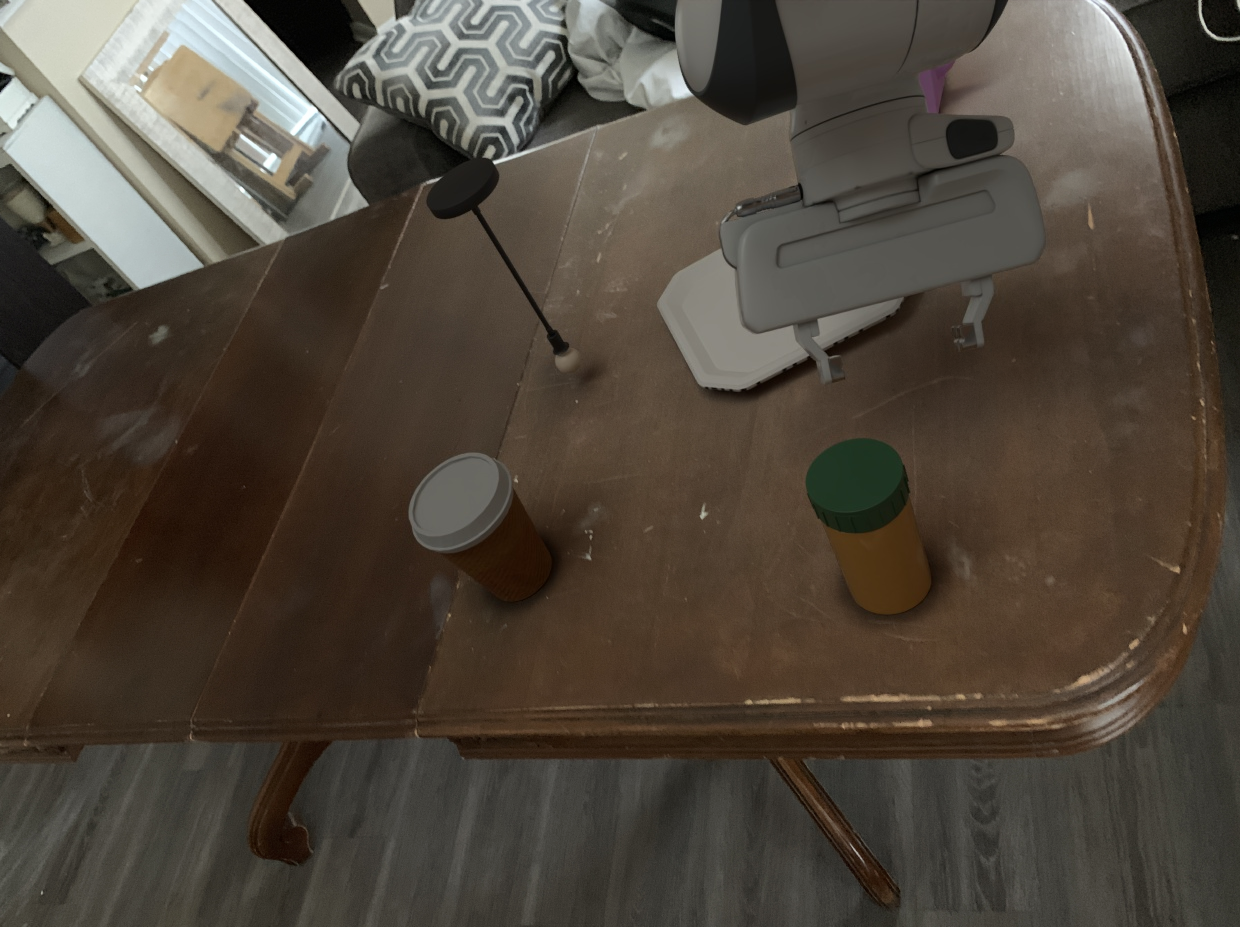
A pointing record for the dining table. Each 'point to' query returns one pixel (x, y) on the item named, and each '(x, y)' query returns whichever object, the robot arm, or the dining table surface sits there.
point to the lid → (857, 485)
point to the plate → (742, 329)
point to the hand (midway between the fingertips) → (900, 366)
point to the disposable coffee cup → (480, 525)
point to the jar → (884, 564)
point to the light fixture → (490, 232)
